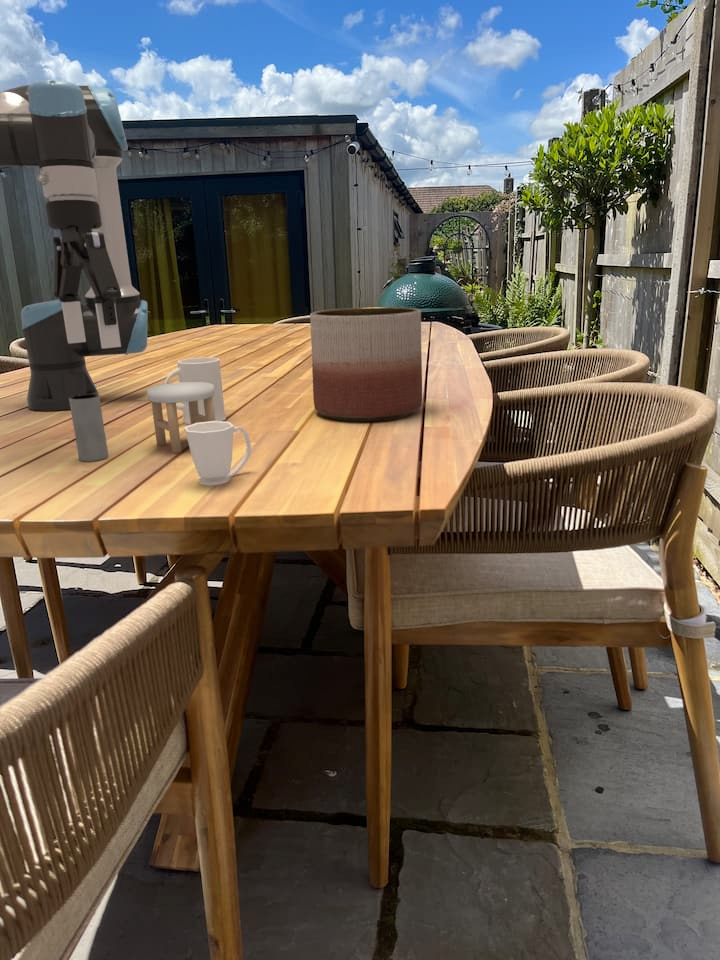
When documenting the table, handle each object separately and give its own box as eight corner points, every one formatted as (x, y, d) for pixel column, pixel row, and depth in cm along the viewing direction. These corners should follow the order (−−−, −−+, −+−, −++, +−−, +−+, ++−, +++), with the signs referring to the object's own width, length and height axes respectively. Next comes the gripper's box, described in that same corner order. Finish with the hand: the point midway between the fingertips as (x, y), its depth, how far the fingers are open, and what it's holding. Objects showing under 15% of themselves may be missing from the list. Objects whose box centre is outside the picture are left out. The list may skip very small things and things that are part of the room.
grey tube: (86, 454, 114) (76, 393, 111) (112, 453, 114) (103, 393, 111) (74, 462, 110) (63, 399, 106) (102, 461, 109) (92, 398, 106)
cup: (180, 481, 98) (173, 427, 95) (238, 466, 105) (233, 414, 102) (206, 492, 93) (200, 435, 91) (265, 475, 100) (261, 421, 97)
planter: (363, 429, 124) (360, 317, 118) (292, 412, 140) (286, 313, 134) (444, 410, 138) (445, 308, 132) (371, 396, 154) (369, 305, 148)
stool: (144, 444, 119) (137, 387, 116) (203, 433, 125) (197, 379, 122) (169, 457, 111) (161, 396, 107) (230, 445, 117) (224, 387, 114)
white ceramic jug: (172, 430, 129) (165, 366, 125) (161, 421, 136) (154, 361, 132) (232, 421, 134) (226, 360, 131) (218, 413, 141) (212, 355, 138)
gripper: (18, 207, 108) (41, 342, 114) (78, 190, 90) (102, 352, 96) (66, 208, 112) (86, 338, 119) (132, 193, 95) (151, 347, 101)
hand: (93, 345), depth 108 cm, fingers open, 13 cm apart
